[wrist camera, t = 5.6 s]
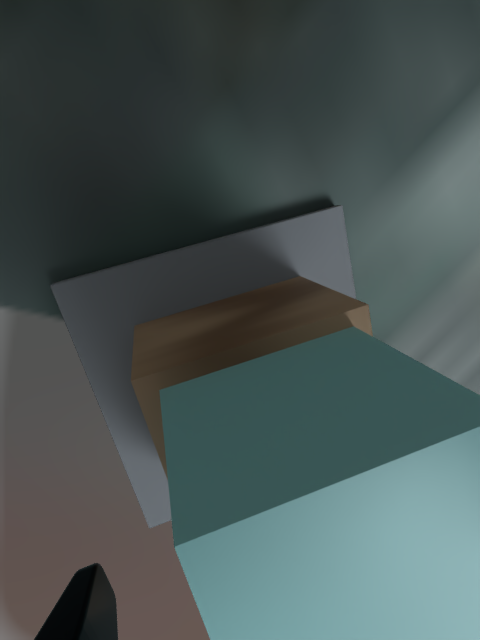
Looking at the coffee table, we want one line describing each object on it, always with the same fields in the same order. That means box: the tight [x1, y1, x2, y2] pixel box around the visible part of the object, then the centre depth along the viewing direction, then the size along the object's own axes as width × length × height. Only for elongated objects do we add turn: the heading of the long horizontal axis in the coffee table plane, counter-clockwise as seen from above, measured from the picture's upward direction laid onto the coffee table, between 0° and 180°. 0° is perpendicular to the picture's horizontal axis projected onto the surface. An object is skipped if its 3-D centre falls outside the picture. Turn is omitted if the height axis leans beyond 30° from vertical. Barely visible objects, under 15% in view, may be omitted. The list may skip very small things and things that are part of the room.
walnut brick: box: [131, 276, 373, 480], centre depth 12 cm, size 6×6×4 cm
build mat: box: [50, 205, 356, 528], centre depth 15 cm, size 10×10×1 cm
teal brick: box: [159, 326, 480, 640], centre depth 8 cm, size 5×5×4 cm
